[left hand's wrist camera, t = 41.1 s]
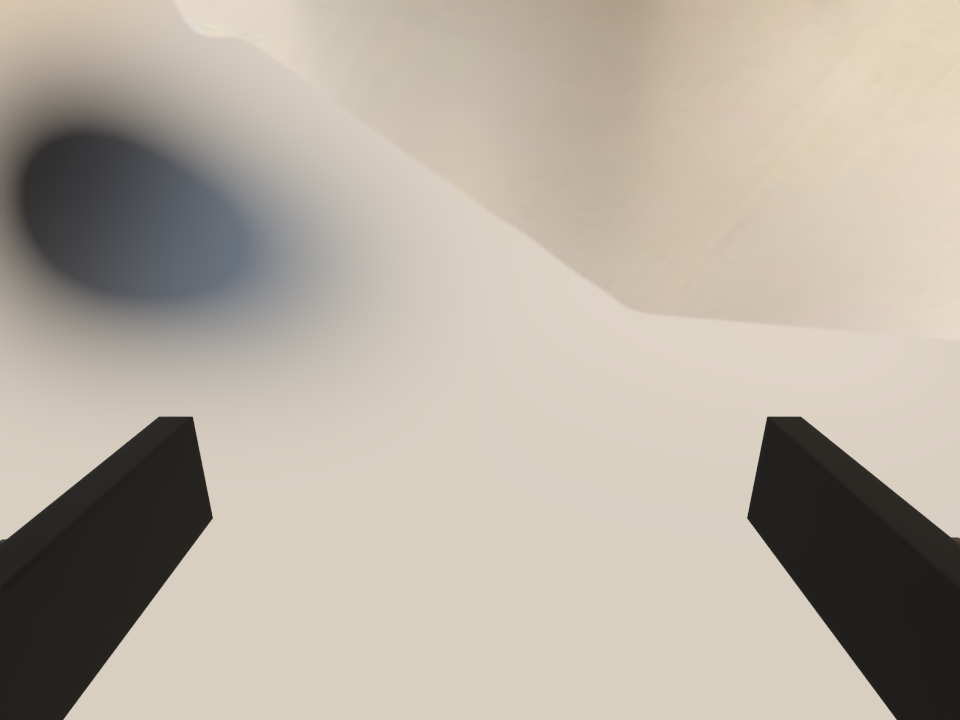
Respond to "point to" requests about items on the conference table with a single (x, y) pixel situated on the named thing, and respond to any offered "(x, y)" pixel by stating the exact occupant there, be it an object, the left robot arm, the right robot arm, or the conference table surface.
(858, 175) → the conference table surface
